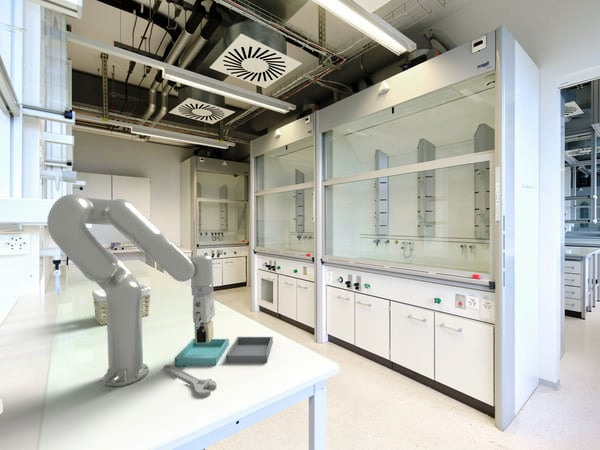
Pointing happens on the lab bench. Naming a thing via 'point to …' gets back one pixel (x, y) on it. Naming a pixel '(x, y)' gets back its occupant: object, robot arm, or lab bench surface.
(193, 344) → the teal bin
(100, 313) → the storage basket
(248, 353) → the charcoal bin
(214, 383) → the adjustable wrench
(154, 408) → the lab bench surface
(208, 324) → the sandstone block
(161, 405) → the lab bench surface
